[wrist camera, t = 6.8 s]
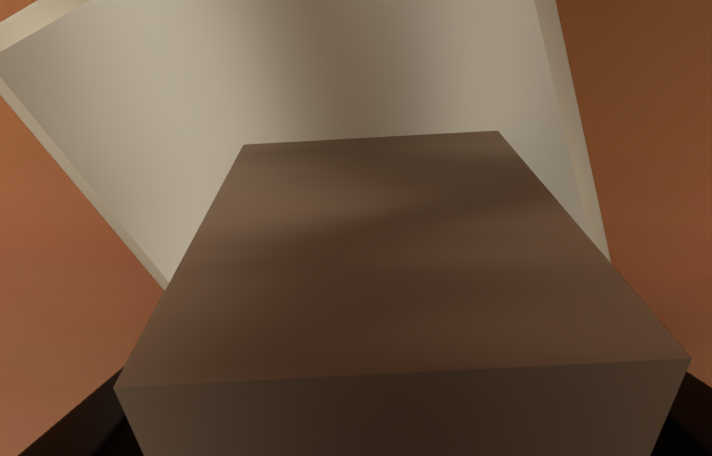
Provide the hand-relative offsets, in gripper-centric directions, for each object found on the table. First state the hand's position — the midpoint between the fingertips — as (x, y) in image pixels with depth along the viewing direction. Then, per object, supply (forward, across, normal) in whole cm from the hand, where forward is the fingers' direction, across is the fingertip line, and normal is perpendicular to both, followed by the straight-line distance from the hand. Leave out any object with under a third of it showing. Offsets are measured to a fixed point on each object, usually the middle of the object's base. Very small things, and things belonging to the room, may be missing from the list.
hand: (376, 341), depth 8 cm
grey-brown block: (+3, 0, 0) cm, 3 cm away
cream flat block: (+7, 0, 0) cm, 7 cm away
